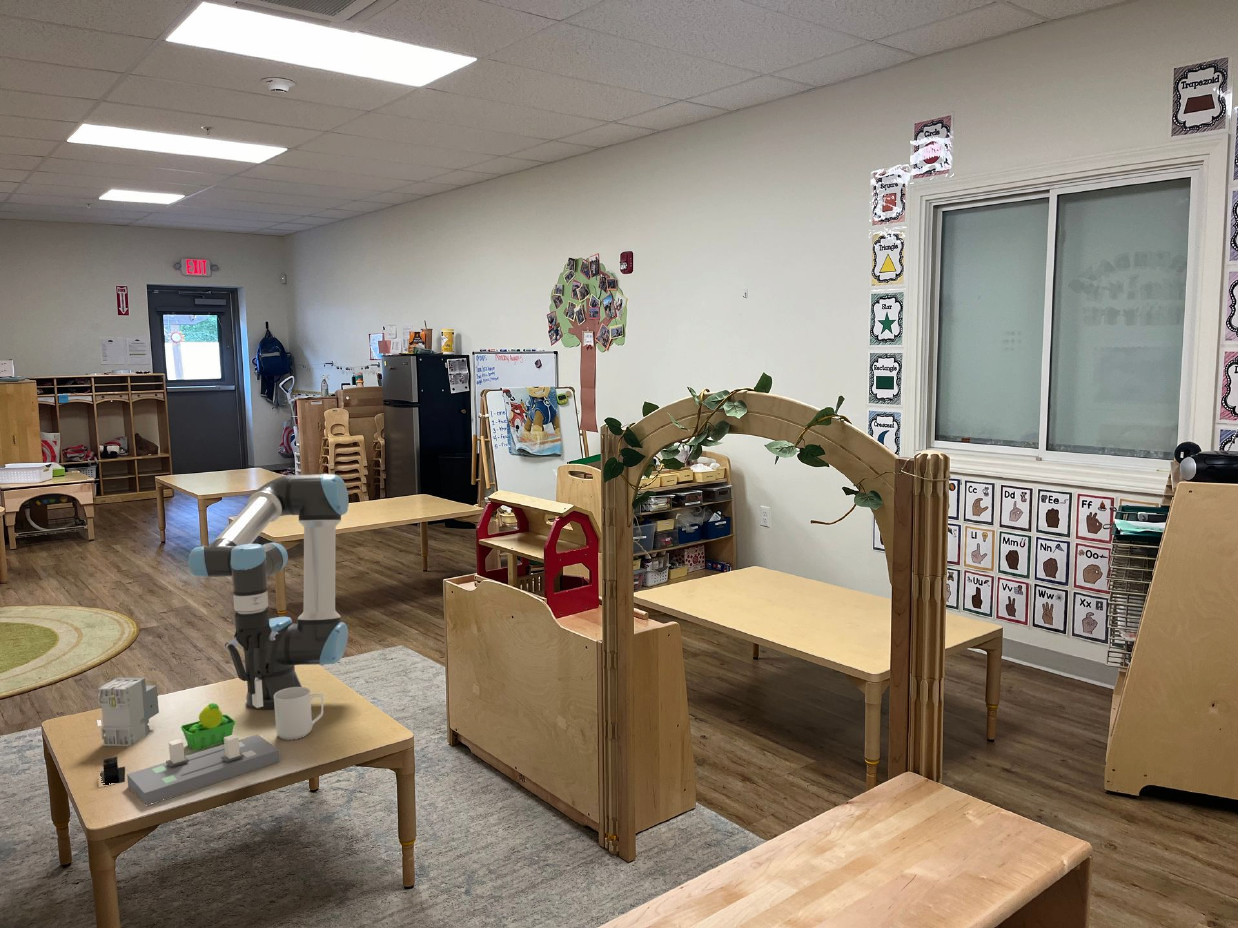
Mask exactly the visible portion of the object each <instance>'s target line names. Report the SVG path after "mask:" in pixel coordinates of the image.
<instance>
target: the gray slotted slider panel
mask: <svg viewBox="0 0 1238 928" xmlns="http://www.w3.org/2000/svg"><path fill="white" fill-rule="evenodd" d="M238 740H239V752H240V753H242V754H243V755H244V757H242V758H239V759H236V760H233V761H229V762H225V761H224V760H223V759H222V758H221V756H224V755H225V747H224V744H221V745H219V746H215V747H211V748H208V749H205V750H202V751H198V752H194V753H193V754H188V755H186V756H185V755H184V756H185V757H186V758H187V759H189V762H186V763H183V764H180V765H176V766H173V767H170V766H169V765H168V764H167V763H166V761H165V762H163V763H159V764H156V765H153V766H149V767H146V768H143V769H140V770H136V771H133V772H130V773H127V774H126V776H127V777H126V778H127V787H128V788H129V789H130V790H131V791H132V792H133V793H134V795H135V794H136V795H135V796H136V797H137V796H138V797H139V798H138V797H137V798H138V800H140V799H141V800H140V801H141V802H142V801H143V802H142V804H145V805H148V806H150V805H149V804H151V803H154V804H156V803H155V802H157V801H160V802H162V801H161V800H163V799H166V800H168V798H169V799H171V798H170V797H172V798H174V796H175V797H177V795H178V796H181V795H184V794H186V793H190V792H193V791H195V790H198V788H199V789H201V788H204V787H208V786H210V785H214V784H217V783H219V782H220V783H221V782H223V781H226V780H229V779H231V778H234V777H237V776H240V775H244V774H246V773H250V772H253V771H256V770H259V769H262V768H265V767H269V766H271V765H273V764H276V763H280V762H281V757H280V749H279V748H277V747H276V746H274V745H273V744H272V743H270V742H269V741H268V740H266V739H264V737H262V736H261V735H260V734H254V735H250V736H247V737H243V738H241V739H238ZM279 761H280V762H279ZM192 790H193V791H192ZM180 794H181V795H180ZM163 801H164V800H163ZM157 803H158V802H157ZM145 805H144V806H145ZM151 805H152V804H151Z"/></svg>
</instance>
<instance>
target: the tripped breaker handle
mask: <svg viewBox="0 0 1238 928" xmlns="http://www.w3.org/2000/svg"><path fill="white" fill-rule="evenodd" d="M239 740H240V739H239V736H237V735H236V734H233V733H232V735H230V736H227V737H224V742H223V743H224V744H223V745H224V747H225V755H224V756H221V758H222V759H223V760H224V761H225V762H229V761H233V760H236V759H239V758H242V757H244V755H243V754H242V753H240V752H239Z"/></svg>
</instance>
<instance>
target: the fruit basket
mask: <svg viewBox="0 0 1238 928" xmlns="http://www.w3.org/2000/svg"><path fill="white" fill-rule="evenodd" d="M198 719H199V720H198V721H194V722H191V723H187V724H182V725H181V726H180V729H181V731H182V732H183V736H184V739H185V741H186V743H187V746H189V747H190V748H191V750H193V751H199V750H202V749H205V748H209V747H212V746H217V745H219V744H222V743H224V737H227V736H230V735H233V731H234V727H235V724H236V720H234V719H233V718H232V717H231V716H230V715H228V714H223V712H222V710H221V709H220V707H219V705H218V704H217V703H215V702H211V703H209V704H208V705H206V706H205V707H204V708H203V709H202V710H201V711H200V712H199V716H198Z"/></svg>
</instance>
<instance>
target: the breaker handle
mask: <svg viewBox="0 0 1238 928" xmlns="http://www.w3.org/2000/svg"><path fill="white" fill-rule="evenodd" d="M168 752H169V753H168V754H169V760H166V761H165V762H166V763H167V764H168V765H169V766H170V767H173V766H176V765H180V764H183V763H186V762H189V759H187V758H186V757H185V749H184V741H182V739H180V738H177V739H174V740H171V741H168Z"/></svg>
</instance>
